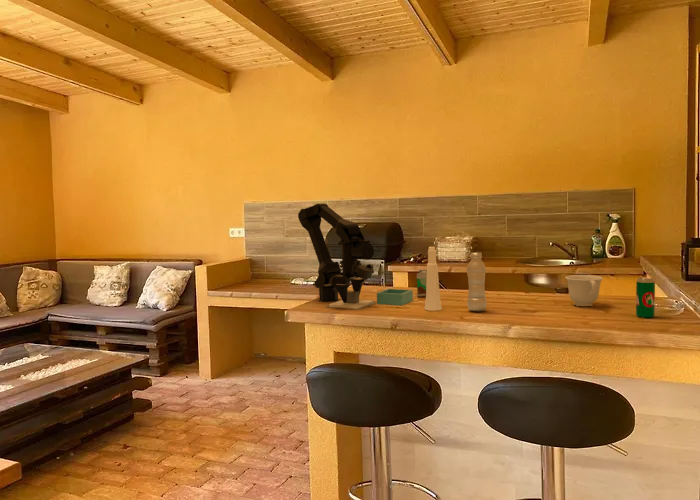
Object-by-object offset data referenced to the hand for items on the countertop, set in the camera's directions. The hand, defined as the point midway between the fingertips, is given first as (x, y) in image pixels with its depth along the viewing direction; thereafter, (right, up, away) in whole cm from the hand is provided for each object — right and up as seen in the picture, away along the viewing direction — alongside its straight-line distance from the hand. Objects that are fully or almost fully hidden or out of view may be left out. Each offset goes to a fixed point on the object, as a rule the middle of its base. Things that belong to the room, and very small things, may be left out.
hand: (351, 300), depth 194 cm
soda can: (+91, -2, -30) cm, 96 cm away
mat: (0, -3, 0) cm, 3 cm away
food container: (+30, 0, +19) cm, 35 cm away
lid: (0, -2, 0) cm, 2 cm away
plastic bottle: (+43, -3, -14) cm, 45 cm away
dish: (+16, -2, +3) cm, 17 cm away
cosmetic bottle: (+29, -3, -8) cm, 30 cm away
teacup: (+81, -1, -12) cm, 81 cm away
